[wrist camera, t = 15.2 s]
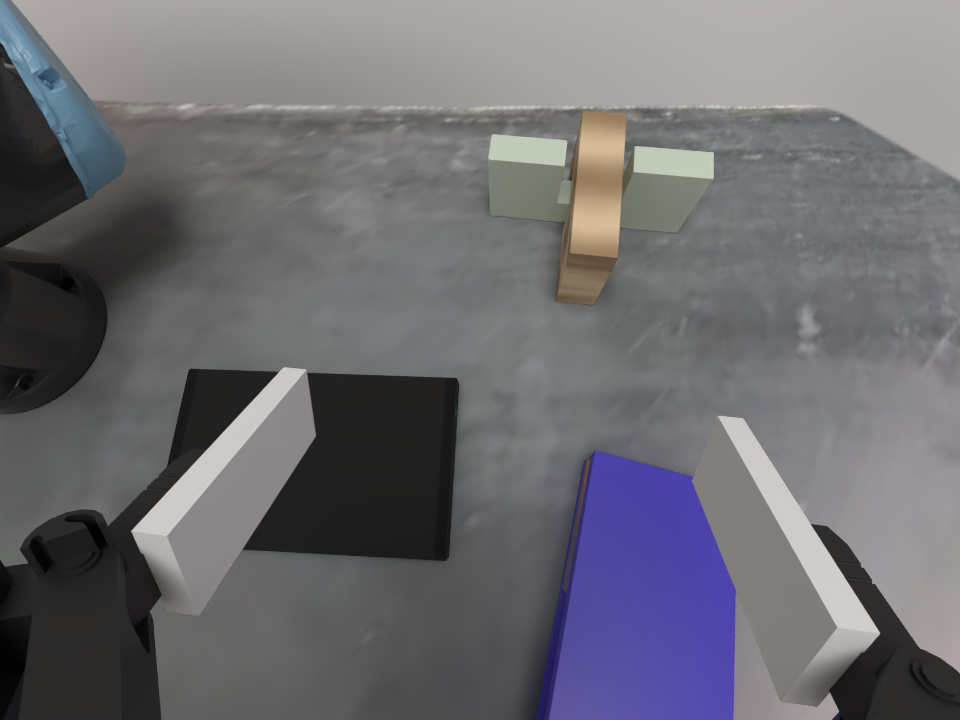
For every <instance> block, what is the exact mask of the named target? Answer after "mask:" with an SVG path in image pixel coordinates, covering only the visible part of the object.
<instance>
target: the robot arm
mask: <svg viewBox="0 0 960 720" xmlns="http://www.w3.org/2000/svg"><path fill="white" fill-rule="evenodd" d="M125 165H126V153H125V150H124V147H123V146H122V144H121V142H120V140H119V139H118V137H117V136H116V134H115V133H114V131H113V130H112V128H111V127H110V125H109V124H108V123H107V121H106V120H105V118H104V117H103V116H102V114H101V113H100V111H99V110H98V109H97V107H96V106H95V105H94V103H93V102H92V101H91V99H90V98H89V97H88V95H87V94H86V93H85V91H84V90H83V89H82V87H81V86H80V85H79V83H78V82H77V81H76V80H75V78H74V77H73V76H72V74H71V73H70V72H69V70H68V69H67V68H66V67H65V66H64V64H63V63H62V62H61V60H60V59H59V58H58V57H57V55H56V54H55V53H54V51H53V50H52V49H51V48H50V47H49V45H48V44H47V43H46V41H45V40H44V39H43V38H42V37H41V35H40V34H39V33H38V32H37V31H36V29H35V28H34V27H33V26H32V24H31V23H30V22H29V21H28V20H27V18H26V17H25V16H24V15H23V14H22V12H20V10H19V9H18V8H17V7H16V6H15V4H14V3H13V2H12V1H11V0H0V414H11V413H19V412H23V411H27V410H31V409H34V408H36V407H39V406H41V405H43V404H45V403H47V402H49V401H51V400H53V399H55V398H56V397H58V396H59V395H61V394H62V393H63V392H65V391H66V390H67V389H68V388H70V387H71V386H72V385H73V384H74V383H75V382H76V381H77V380H78V379H79V378H80V377H81V376H82V374H83V373H84V372H85V371H86V369H87V368H88V367H89V365H90V364H91V362H92V361H93V359H94V357H95V356H96V354H97V351H98V349H99V347H100V345H101V342H102V339H103V335H104V330H105V323H106V310H105V304H104V300H103V297H102V295H101V292H100V290H99V289H98V287H97V286H96V284H95V283H94V282H93V281H92V279H91V278H89V277H88V276H87V275H86V274H85V273H83V272H82V271H80V270H78V269H76V268H74V267H72V266H70V265H68V264H67V263H65V262H63V261H61V260H59V259H56V258H54V257H51V256H48V255H44V254H39V253H34V252H29V251H24V250H19V249H14V248H9V247H4V246H5V245H7V244H9V243H10V242H12V241H14V240H16V239H18V238H19V237H21V236H23V235H25V234H26V233H28V232H30V231H32V230H33V229H35V228H37V227H39V226H40V225H42V224H44V223H46V222H48V221H49V220H51V219H53V218H55V217H56V216H58V215H60V214H62V213H63V212H65V211H67V210H69V209H71V208H72V207H74V206H76V205H78V204H79V203H81V202H83V201H85V200H86V199H90V198H92V197H94V193H95V192H96V191H98V190H99V189H101V188H102V187H103V186H105V185H106V184H108V183H109V182H111V181H112V180H114V179H115V178H116V177H118V176H119V175H120V174H121V173H122V172H123V170H124V167H125ZM315 437H316V432H315V425H314V418H313V411H312V404H311V397H310V390H309V384H308V377H307V370H304V369H295V368H286V367H284V368H283V369H282V370H281V371H280V372H279V373H278V374H277V375H276V376H275V377H274V378H273V379H272V380H271V382H270V383H269V384H268V385H267V386H266V387H265V388H264V389H263V390H262V391H261V392H260V393H259V394H258V396H257V397H256V398H255V399H254V400H253V401H252V402H251V403H250V404H249V405H248V406H247V407H246V408H245V409H244V411H243V412H242V413H241V414H240V415H239V416H238V417H237V418H236V419H235V420H234V421H233V422H232V423H231V424H230V426H229V427H228V428H227V429H226V430H225V431H224V432H223V433H222V434H221V435H220V436H219V437H218V438H217V440H216V441H215V442H214V443H213V444H212V445H211V446H210V447H209V448H208V449H207V450H199V449H192V450H190V451H189V452H187V453H185V454H184V455H182V456H180V457H179V458H177V459H175V460H174V461H173V462H172V463H171V464H170V465H169V466H168V467H167V468H166V469H165V470H164V471H163V472H162V473H161V474H160V475H159V478H156V479H155V480H154V481H153V482H152V483H151V484H150V485H149V486H148V487H147V490H144V491H143V492H142V493H141V494H140V495H139V496H138V497H137V498H136V499H135V500H134V501H133V502H132V503H131V504H130V505H129V506H128V507H127V508H126V509H125V510H124V511H123V512H122V513H121V514H120V515H119V516H118V517H117V518H116V519H115V520H114V521H113V522H112V523H111V524H110V525H109V526H108V525H107V523H106V521H105V519H104V517H103V515H102V514H101V513H99V512H97V511H95V510H77V511H72V512H67V513H64V514H62V515H59V516H57V517H55V518H52V519H50V520H48V521H47V522H45V523H44V524H42V525H40V526H39V527H37V528H36V529H35V530H34V531H33V532H32V533H31V534H30V535H29V536H28V537H27V538H26V539H25V540H24V542H23V544H22V546H21V549H20V550H21V552H22V554H23V555H24V557H25V558H26V560H27V561H28V564H21V565H14V566H7V567H5V566H4V565H3V563H2V562H1V560H0V720H161V710H160V698H159V686H158V674H157V662H156V650H155V638H154V626H153V618H152V616H151V614H150V610H151V609H152V607H153V606H154V605H155V603H156V602H157V601H158V599H159V598H160V597H161V598H162V600H163V602H164V604H165V607H166V609H167V611H168V612H175V613H181V614H188V615H195V616H199V615H200V614H201V612H202V611H203V609H204V608H205V606H206V605H207V603H208V602H209V600H210V598H211V597H212V595H213V594H214V592H215V591H216V589H217V588H218V586H219V585H220V583H221V582H222V580H223V578H224V577H225V575H226V574H227V572H228V571H229V569H230V568H231V566H232V565H233V563H234V562H235V560H236V558H237V557H238V555H239V554H240V552H241V551H242V549H243V548H244V546H245V545H246V543H247V541H248V540H249V538H250V537H251V535H252V534H253V532H254V531H255V529H256V528H257V526H258V525H259V523H260V521H261V520H262V518H263V517H264V515H265V514H266V512H267V511H268V509H269V508H270V506H271V504H272V503H273V501H274V500H275V498H276V497H277V495H278V494H279V492H280V491H281V489H282V488H283V486H284V484H285V483H286V481H287V480H288V478H289V477H290V475H291V474H292V472H293V471H294V469H295V467H296V466H297V464H298V463H299V461H300V460H301V458H302V457H303V455H304V454H305V452H306V451H307V449H308V447H309V446H310V444H311V443H312V441H313V440H314V438H315ZM692 483H693V485H694V488H695V490H696V493H697V495H698V498H699V500H700V503H701V505H702V508H703V510H704V513H705V515H706V518H707V520H708V523H709V525H710V528H711V530H712V533H713V535H714V538H715V540H716V542H717V545H718V547H719V550H720V552H721V555H722V557H723V560H724V562H725V565H726V567H727V570H728V572H729V575H730V577H731V580H732V582H733V585H734V587H735V590H736V592H737V595H738V597H739V600H740V602H741V605H742V607H743V610H744V612H745V615H746V617H747V619H748V622H749V624H750V627H751V629H752V632H753V634H754V637H755V639H756V642H757V644H758V647H759V649H760V652H761V654H762V657H763V659H764V662H765V664H766V667H767V669H768V672H769V674H770V677H771V679H772V682H773V684H774V687H775V689H776V692H777V694H778V696H779V699H780V701H782V702H788V703H795V704H802V705H809V706H816V707H817V706H818V705H819V704H820V703H821V702H822V701H823V699H824V698H825V697H826V696H827V695H828V694H829V692H830V693H831V695H832V697H833V699H834V701H835V703H836V705H837V707H838V709H839V713H838V714H837V715H836V716H835V717H834V718H833V719H832V720H960V673H959V672H958V671H957V670H956V669H954V668H953V667H952V666H950V665H949V664H947V663H946V662H945V661H943V660H942V659H941V658H939V657H937V656H935V655H933V654H931V653H929V652H927V651H925V650H923V649H920V648H919V647H918V646H917V644H916V643H915V641H914V640H913V638H912V637H911V636H910V634H909V633H908V631H907V630H906V628H905V627H904V625H903V624H902V623H901V621H900V620H899V618H898V617H897V615H896V614H895V612H894V611H893V610H892V608H891V607H890V605H889V604H888V602H887V601H886V599H885V598H884V597H883V595H882V594H881V592H880V591H879V589H878V588H877V586H876V585H875V584H872V579H871V578H870V576H869V575H868V573H867V572H866V571H865V569H864V568H861V563H860V562H859V561H858V559H857V558H856V556H855V555H854V553H853V552H852V550H851V549H850V548H849V546H848V545H847V544H846V543H845V542H844V541H843V540H842V539H841V538H840V537H839V536H837V535H836V534H835V533H834V532H833V531H832V530H831V529H830V528H828V527H827V526H821V525H813V524H810V523H809V521H808V519H807V518H806V516H805V515H804V513H803V512H802V510H801V508H800V507H799V505H798V504H797V502H796V501H795V499H794V498H793V496H792V494H791V493H790V491H789V490H788V488H787V487H786V485H785V483H784V482H783V480H782V479H781V477H780V476H779V474H778V472H777V471H776V469H775V468H774V466H773V465H772V463H771V462H770V460H769V458H768V457H767V455H766V454H765V452H764V451H763V449H762V447H761V446H760V444H759V443H758V441H757V440H756V438H755V437H754V435H753V433H752V432H751V430H750V429H749V427H748V426H747V424H746V422H745V421H744V419H743V418H734V417H725V416H717V419H716V421H715V424H714V426H713V429H712V431H711V434H710V436H709V439H708V441H707V444H706V446H705V449H704V451H703V454H702V456H701V459H700V462H699V464H698V467H697V469H696V472H695V474H694V477H693V479H692Z"/></svg>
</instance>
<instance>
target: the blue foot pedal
mask: <svg viewBox="0 0 960 720" xmlns="http://www.w3.org/2000/svg"><path fill="white" fill-rule="evenodd" d="M692 479H693V477H691V476H687V475H684V474H680V473H676V472H673V471H669V470H665V469H661V468H658V467H654V466H650V465H647V464H643V463H639V462H636V461H632V460H628V459H625V458H621V457H617V456H613V455H610V454H606V453H602V452H599V451H594V453H593V454H592V455H591V457H590V459H587V460H585V461H584V465H583V470H582V475H581V481H580V486H579V491H578V497H577V502H576V507H575V513H574V518H573V523H572V529H571V534H570V539H569V545H568V550H567V556H566V561H565V566H564V572H563V577H562V582H561V588H560V593H559V598H558V604H557V609H556V614H555V620H554V625H553V630H552V636H551V641H550V646H549V652H548V657H547V662H546V668H545V673H544V678H543V684H542V689H541V694H540V700H539V705H538V710H537V716H536V720H733V706H734V649H735V592H736V590H735V587H734V585H733V582H732V580H731V577H730V575H729V572H728V570H727V567H726V565H725V562H724V560H723V557H722V555H721V552H720V550H719V547H718V545H717V542H716V540H715V538H714V535H713V533H712V530H711V528H710V525H709V523H708V520H707V518H706V515H705V513H704V510H703V508H702V505H701V503H700V500H699V498H698V495H697V493H696V490H695V488H694V485H693V483H692Z"/></svg>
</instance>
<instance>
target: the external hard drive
mask: <svg viewBox="0 0 960 720" xmlns="http://www.w3.org/2000/svg"><path fill="white" fill-rule="evenodd" d="M278 373H279V372H267V371H238V370H210V369H189V371H188V375H187V380H186V384H185V389H184V393H183V398H182V402H181V407H180V411H179V416H178V420H177V424H176V429H175V433H174V438H173V442H172V447H171V451H170V456H169V460H168V465H167V467H168V466H169V465H170V464H171V463H172V462H173V461H174V460H175V459H177V458H179V457H180V456H182V455H184V454H185V453H187V452H189V451H190V450H192V449H199V450H207V449H208V448H209V447H210V446H211V445H212V444H213V443H214V442H215V441H216V440H217V438H218V437H219V436H220V435H221V434H222V433H223V432H224V431H225V430H226V429H227V428H228V427H229V426H230V424H231V423H232V422H233V421H234V420H235V419H236V418H237V417H238V416H239V415H240V414H241V413H242V412H243V411H244V409H245V408H246V407H247V406H248V405H249V404H250V403H251V402H252V401H253V400H254V399H255V398H256V397H257V396H258V394H259V393H260V392H261V391H262V390H263V389H264V388H265V387H266V386H267V385H268V384H269V383H270V382H271V380H272V379H273V378H274V377H275V376H276V375H277V374H278ZM307 377H308V384H309V390H310V397H311V404H312V411H313V418H314V425H315V432H316V437H315V438H314V440H313V441H312V443H311V444H310V446H309V447H308V449H307V451H306V452H305V454H304V455H303V457H302V458H301V460H300V461H299V463H298V464H297V466H296V467H295V469H294V471H293V472H292V474H291V475H290V477H289V478H288V480H287V481H286V483H285V484H284V486H283V488H282V489H281V491H280V492H279V494H278V495H277V497H276V498H275V500H274V501H273V503H272V504H271V506H270V508H269V509H268V511H267V512H266V514H265V515H264V517H263V518H262V520H261V521H260V523H259V525H258V526H257V528H256V529H255V531H254V532H253V534H252V535H251V537H250V538H249V540H248V541H247V543H246V545H245V546H244V548H243V549H242V550H260V551H278V552H296V553H314V554H332V555H350V556H368V557H386V558H404V559H422V560H440V561H446V560H447V558H448V557H449V545H450V528H451V511H452V494H453V477H454V461H455V444H456V427H457V410H458V393H459V383H458V380H457V378H439V377H410V376H382V375H353V374H324V373H307Z"/></svg>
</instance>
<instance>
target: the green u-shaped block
mask: <svg viewBox="0 0 960 720" xmlns="http://www.w3.org/2000/svg"><path fill="white" fill-rule="evenodd" d="M566 147H567V140H554V139H542V138H530V137H518V136H506V135H494V134H492V138H491V144H490V151H489V157H488V169H489V198H490V215H491V216H502V217H512V218H523V219H533V220H543V221H554V222H564V223H565V220H566V216H567V212H568V207H569V203H570V196H571V185H572V181H568V180H562V176H563V171H564V166H565V157H566ZM713 179H714V153H712V152H700V151H687V150H675V149H663V148H651V147H639V146H635V147H634V150H633V152H632V155H631V157H630V160H629V162H628V165H627V168H626V170H625V173H624V175H623V179H622V196H621V212H620V228H627V229H637V230H648V231H658V232H668V233H677V232H678V231H679V229H680V228H681V226H682V225H683V223H684V222H685V220H686V219H687V217H688V216H689V214H690V213H691V211H692V210H693V208H694V207H695V206H696V204H697V203H698V201H699V200H700V198H701V197H702V195H703V194H704V192H705V191H706V189H707V188H708V186H709V185H710V183H711V182H712V181H713Z"/></svg>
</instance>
